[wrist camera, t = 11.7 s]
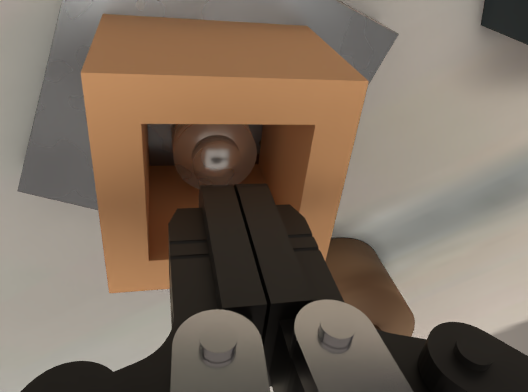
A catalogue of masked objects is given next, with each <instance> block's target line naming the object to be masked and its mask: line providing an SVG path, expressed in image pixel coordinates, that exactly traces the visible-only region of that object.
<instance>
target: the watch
mask: <svg viewBox="0 0 528 392" xmlns="http://www.w3.org/2000/svg"><path fill="white" fill-rule="evenodd" d="M481 25H482V26H485V27H487V28H489V29H492V30H494V31H497V32H499V33H501V34H504V35H506V36H508V37H511V38H513V39H516V40H518V41H520V42H523V43H525V44H527V45H528V0H485V4H484V10H483V16H482V22H481Z"/></svg>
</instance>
